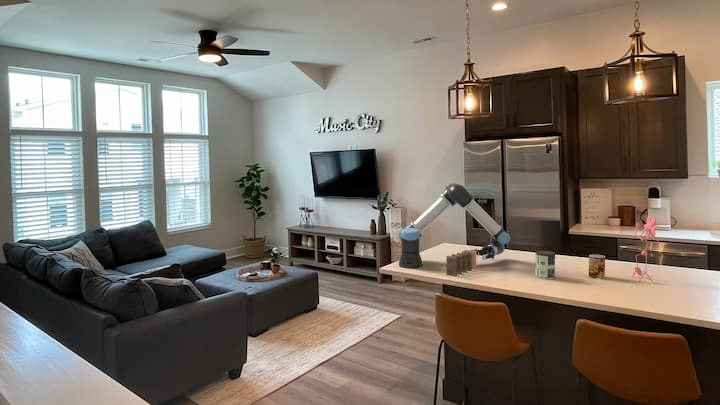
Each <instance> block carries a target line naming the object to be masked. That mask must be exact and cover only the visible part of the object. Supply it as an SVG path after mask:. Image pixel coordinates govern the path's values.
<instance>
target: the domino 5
mask: <svg viewBox="0 0 720 405" xmlns="http://www.w3.org/2000/svg"><path fill="white" fill-rule="evenodd" d="M465 250H466V249H465ZM471 250H472V249H467V250H466V252H471V253H472V270H477V255H476V251H471Z"/></svg>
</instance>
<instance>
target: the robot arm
mask: <svg viewBox="0 0 720 405" xmlns="http://www.w3.org/2000/svg"><path fill="white" fill-rule="evenodd" d="M439 195H440V196H439V199H437V200H436V201H435V202H434V203H433V204H432V205H431V206H430V207H429V208H428V209H427V210H426V211H424V212H423V213H422V214H421V215H420V216H419V217H418V218H417V219H416V220H415V221H414V222H412V221H411V222H410V223H409V224H407V225H406V226H405V227H403V228H401V230H400V232H399V233H398V234H399V235H398V237H399V241H400V243H401V244H400V246H401V248H400V252H401V253H400V257H399V259H398V260H399V261H398V266H399V267H401V268H405V269H416V268H421V267H423V259H422V257H421V254H420V247H421V246H420V238H421V237H423V234H424V231H425V230H427V228H429V227H430V226H431V225H432V224H433V223H434V222H436V220H437V219H439V217H441V215H442V214H444V213H445V212H446V211H447V210H448V209H449V208H453V207H454V206H455V205H456V204H458V206H460V207H461V208H462V209H465V210H466V211H467V212H468V213H469V214H470V215H471V216H472V217H473V218H474V219H475V220H476V222H478V223H479V224H480V225H481V226H482V227H483V228H484V229H485V230H486V231H487V232H488V233H489V236H490V244H488V245H486V246H483V247H482V248H481V249H470V250H471V251H476V256H481V261H486V260H488V259H491V260H494V259H495V256H497V255H501V254H502V253H505V249H506V248H505V245H507V244H509V243H510V241H511V236H510V234H509V233H508V232H506V231H505V230H504V229H503V226H502V225H499V224H498V223H497V222H496V221H495V220H494V219H493V218H492V217H491V216H490V215H489V214H488V213H487V212H486V211H485V210H484V209H483V208H482V207H481V206H480V205H479V204H478V203H477V202H476V201H475V198H474V196H473V195H472V194H471V193H470V192H469V190H468V189H467V188H466V187H465V186H464V185H462V184H459V183H450V184H449V185H447V186H446V187H445V189H444V190H443V191H442V192H441V193H440V194H439ZM464 252H466V249H465V250H464Z"/></svg>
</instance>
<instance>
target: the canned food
mask: <svg viewBox="0 0 720 405" xmlns="http://www.w3.org/2000/svg"><path fill="white" fill-rule="evenodd" d="M605 270H606V256H605V255H602V254H589V255H588V277H589V278H590V277H591V278H592V279H595V278H598V280H600V279H599V278H604V279H605V276H606V274H605V273H606V271H605ZM591 278H590V279H591Z"/></svg>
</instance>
